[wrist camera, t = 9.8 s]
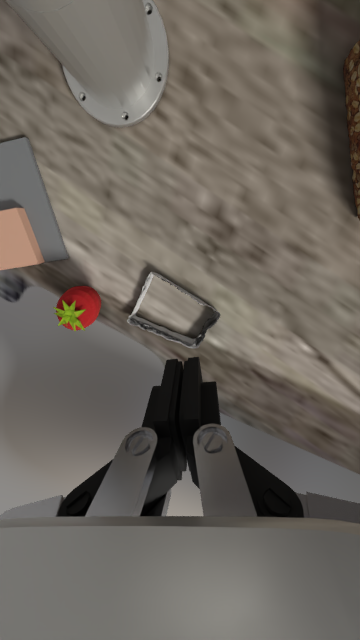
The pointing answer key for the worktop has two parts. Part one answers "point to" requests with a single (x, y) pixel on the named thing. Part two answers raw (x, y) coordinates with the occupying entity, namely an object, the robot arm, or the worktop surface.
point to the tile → (17, 240)
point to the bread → (354, 115)
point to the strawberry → (78, 307)
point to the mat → (29, 196)
